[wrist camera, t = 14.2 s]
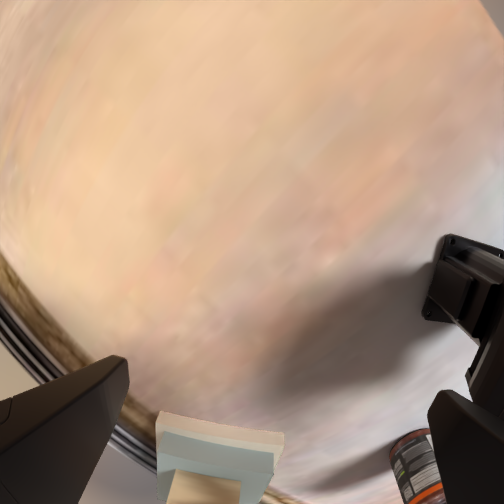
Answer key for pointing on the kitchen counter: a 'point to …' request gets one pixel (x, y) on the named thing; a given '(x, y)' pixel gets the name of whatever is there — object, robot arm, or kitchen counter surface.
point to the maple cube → (202, 489)
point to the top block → (213, 465)
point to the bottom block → (220, 434)
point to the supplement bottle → (417, 469)
